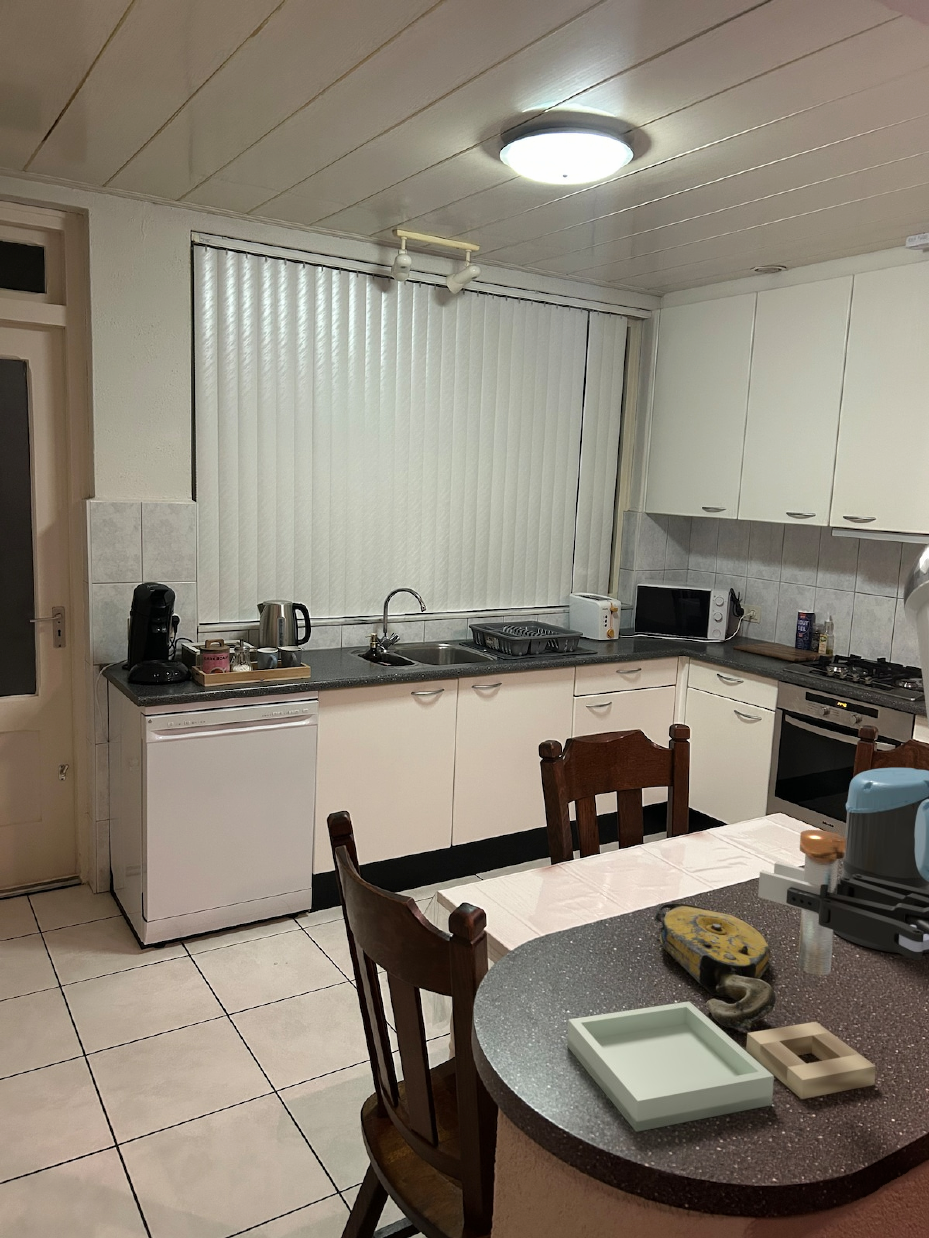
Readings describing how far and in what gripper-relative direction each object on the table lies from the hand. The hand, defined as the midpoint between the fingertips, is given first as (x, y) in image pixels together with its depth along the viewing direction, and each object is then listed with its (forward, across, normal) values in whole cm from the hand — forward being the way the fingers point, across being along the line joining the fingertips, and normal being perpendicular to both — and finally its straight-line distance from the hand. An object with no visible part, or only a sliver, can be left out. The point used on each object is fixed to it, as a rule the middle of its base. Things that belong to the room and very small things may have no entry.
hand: (768, 878), depth 99 cm
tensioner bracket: (-6, 0, -19) cm, 20 cm away
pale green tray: (+5, -12, -19) cm, 23 cm away
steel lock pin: (-5, 0, -8) cm, 10 cm away
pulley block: (+11, +12, -20) cm, 25 cm away
